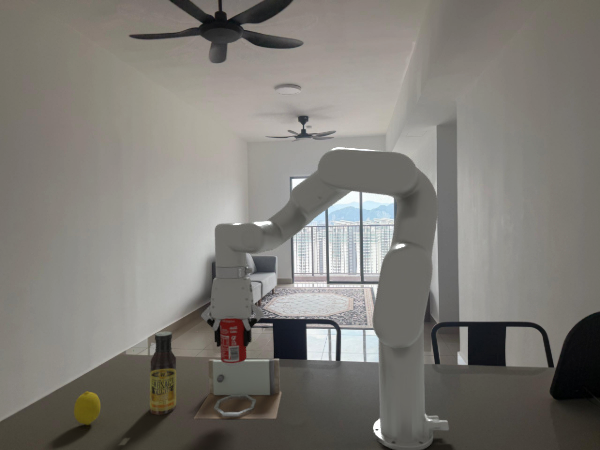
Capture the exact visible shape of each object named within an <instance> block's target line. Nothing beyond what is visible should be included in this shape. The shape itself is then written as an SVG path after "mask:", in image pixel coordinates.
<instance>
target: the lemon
mask: <svg viewBox="0 0 600 450" xmlns="http://www.w3.org/2000/svg"><path fill="white" fill-rule="evenodd" d="M73 408H74V409H73V414H74V415H73V416H74V418H75V420H76V421H77V422H78V423H80V424H83V425H86V426H89V425H90V424H91V423H93V422H94V421H95V420H96V419H97V418H98V417H99V415H100V412H101V408H102V407H101V400H100V398H99V396H98V394H97V393H95V392H92V391H85V392H83V393H81V394H80V396H78V398H76V400H75V403H74V406H73Z"/></svg>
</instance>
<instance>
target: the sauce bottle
mask: <svg viewBox="0 0 600 450" xmlns="http://www.w3.org/2000/svg"><path fill="white" fill-rule="evenodd" d="M172 339H173V332H172V331H168V330H166V331H159V332H156V333H155V334H154V341H155V351H154V353H153V355H152V357H151V359H150V370H149V371H150V373H149V408H150V409H149V412H150V413H151V414H153V415H165V414H168V413H171V412H173V411H174V410H175V409H176V405H177V357H176V356H175V354H174V353H173V351H172Z"/></svg>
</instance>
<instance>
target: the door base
mask: <svg viewBox="0 0 600 450" xmlns="http://www.w3.org/2000/svg"><path fill="white" fill-rule="evenodd" d="M214 360H216V359H215V358H209V359H208V362H207V363H208V383H209V385H208V386H209V387H208V389H209V390H208V391H209V393H208V395H207V396H206V398H205V400H204V401H203V403H202V404H201V406H200V408H199V409H198V411H197V413H196V414H195V416H194V417H193V419H194V420H200V419H201V420H203V419H204V420H214V419H215V420H216V419H217V420H224V419H225V420H238V419H239V420H247V419H249V420H276V419H277V417H278V411H279V406H280V402H281V398H282V392H283V391H281V382H280V376H281V375H280V358H272V360H274V386H275V394H274V395H248V396H250V397H252V398H253V399H255V400H256V405H255V408H254V411H253V412H251V413H248V414H246V415H244V416H241V417H221V416H220V415H219V414H217V413H216V412H214V407H215V405H216V403H217V401H218V400H220V399H222V398H225V397H228V396H230V395H214V386H213V361H214ZM251 404H252V403H251V402H249V401H247V400H246V399H232V400H230V401H227V402H225V403H222V404H221V405H220V407H219V409H221V410H222V411H223V412H240V411H243V410H245V409H248V408H250V407H251Z"/></svg>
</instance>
